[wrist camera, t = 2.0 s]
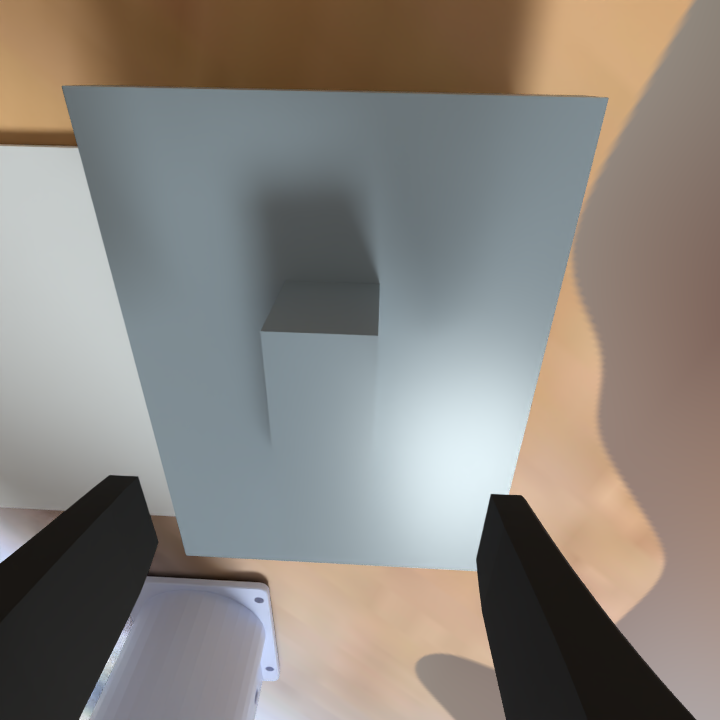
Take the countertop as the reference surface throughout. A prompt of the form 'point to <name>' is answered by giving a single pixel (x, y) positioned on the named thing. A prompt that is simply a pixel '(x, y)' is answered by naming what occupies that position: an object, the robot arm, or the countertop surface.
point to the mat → (64, 344)
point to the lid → (336, 302)
